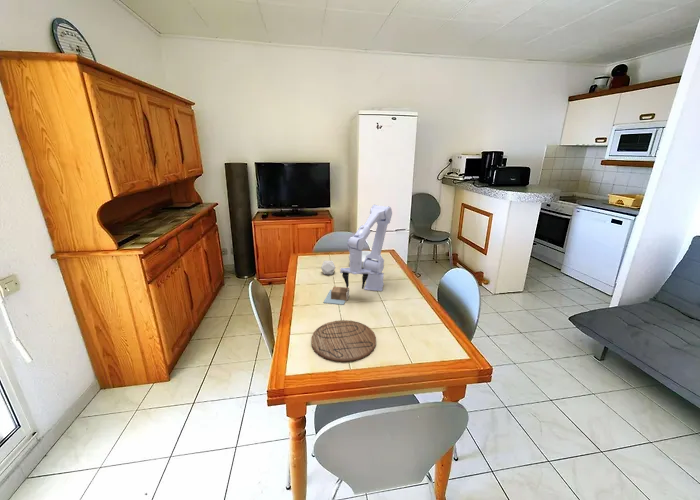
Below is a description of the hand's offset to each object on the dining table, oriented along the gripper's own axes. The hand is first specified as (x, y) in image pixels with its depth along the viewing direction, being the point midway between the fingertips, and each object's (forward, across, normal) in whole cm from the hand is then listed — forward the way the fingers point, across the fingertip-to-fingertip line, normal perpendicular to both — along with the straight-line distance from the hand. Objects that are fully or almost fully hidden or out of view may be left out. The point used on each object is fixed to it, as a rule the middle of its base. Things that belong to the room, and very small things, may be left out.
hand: (355, 287), depth 148 cm
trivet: (+7, +1, -35) cm, 36 cm away
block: (+4, -4, 0) cm, 5 cm away
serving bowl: (+7, -1, +46) cm, 46 cm away
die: (+7, -21, +29) cm, 36 cm away
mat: (+6, -9, 0) cm, 11 cm away
